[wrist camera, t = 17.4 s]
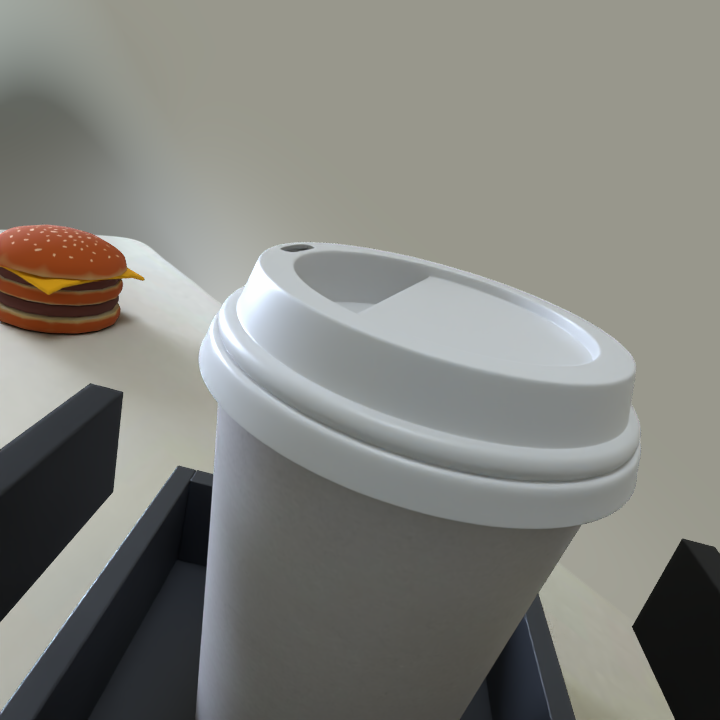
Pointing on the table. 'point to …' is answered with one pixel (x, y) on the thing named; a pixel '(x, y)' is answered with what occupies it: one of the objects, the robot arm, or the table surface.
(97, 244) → the hamburger
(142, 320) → the table surface
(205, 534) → the basket
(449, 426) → the coffee cup
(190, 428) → the table surface
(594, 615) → the table surface
